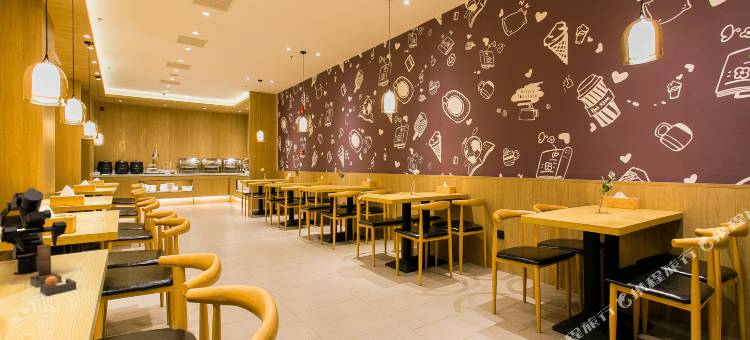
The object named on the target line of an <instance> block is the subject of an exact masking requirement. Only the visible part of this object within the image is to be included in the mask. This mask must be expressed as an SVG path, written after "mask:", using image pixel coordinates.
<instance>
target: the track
mask: <svg viewBox="0 0 750 340" xmlns="http://www.w3.org/2000/svg"><path fill="white" fill-rule="evenodd" d="M52 273H53V274H55V277H57V278H58V282H57V283H56V284H59V283H62V281H63V280H62V279H63V278H62V275H60V274H58V273H57V272H55V271H54V272H52ZM29 278H30V279H29V280H30V281H29V283H30V284H31V285H32V286H34V287H36V288H40V280H39V279H37V278H36V277H35V276H34V275H33V276H30V277H29ZM43 284H45V283H43ZM45 285H46V284H45Z"/></svg>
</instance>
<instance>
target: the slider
mask: <svg viewBox="0 0 750 340" xmlns="http://www.w3.org/2000/svg"><path fill="white" fill-rule="evenodd" d="M37 249H38V271H37V273H38V274H35V276H34V277H36V278H37V279H39V280H40V284H43V283H45V280H46V278H48V277H50V276H55V274H53V272H52V260H51V259H52V256H51V255H52V253H51V250H52V249H51V244H49V243H47V244H45V245H39V246H37Z"/></svg>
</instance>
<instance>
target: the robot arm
mask: <svg viewBox="0 0 750 340" xmlns="http://www.w3.org/2000/svg"><path fill="white" fill-rule="evenodd" d="M43 198H44V193H43V192H42V191H40V190H37V189H36V188H35V187H30V188H28V189H27V190H26V191H24V192H15V193H14V194H13V195H12V197H11V201H9V202H6V205H5V208H4V209H3V210H2V211H0V228H1V229H0V230H1V231H0V243H6V244H11V245H12V246H13V249H12V253H11V254H12V255H11V256H12V259H13V260H15V261H16V260H17V264H16V265H17V271H16V272H13V275H21V274H23V275H24V274H33V273H36V272H38V249H37V246H39V245H46V244H45V243H44V240H43V241H41V239H40V237H38V235H37V233H43V234H45V233H50V234H51V241H52V245H53V247H55V248H56V246H57V242H58V238H59V237H61V236H62V235H64V234H66V230H67V227H68V224H67V222H66V221H64V220H63V221H54V222H52V225H51V226H44V225H46V220H47V219H48V220H49V219H51V218H52V211H51V210H50V209H45V210H42V211H41V210H40V208H41V205H42V201H43V200H44V199H43ZM16 211H18V213H19V214H13V215H12V214H11V215H9V214H10V212H16Z"/></svg>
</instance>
